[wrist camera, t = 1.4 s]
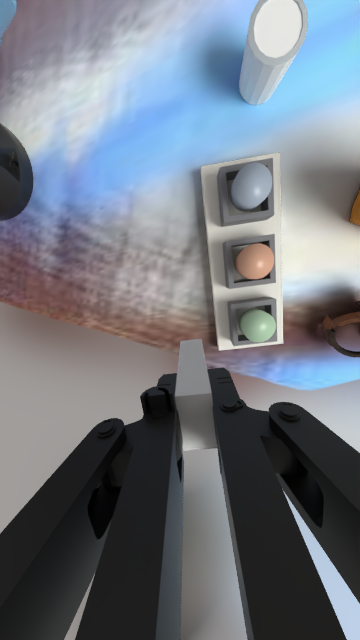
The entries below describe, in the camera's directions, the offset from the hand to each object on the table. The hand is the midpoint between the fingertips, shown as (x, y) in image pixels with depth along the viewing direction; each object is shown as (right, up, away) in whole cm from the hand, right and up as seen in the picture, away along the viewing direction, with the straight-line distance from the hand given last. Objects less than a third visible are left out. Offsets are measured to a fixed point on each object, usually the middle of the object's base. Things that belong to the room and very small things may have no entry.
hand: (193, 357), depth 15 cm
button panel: (+10, +13, +21) cm, 27 cm away
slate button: (+9, +22, +15) cm, 28 cm away
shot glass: (+11, +38, +15) cm, 43 cm away
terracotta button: (+10, +12, +17) cm, 23 cm away
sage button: (+12, +2, +20) cm, 23 cm away
